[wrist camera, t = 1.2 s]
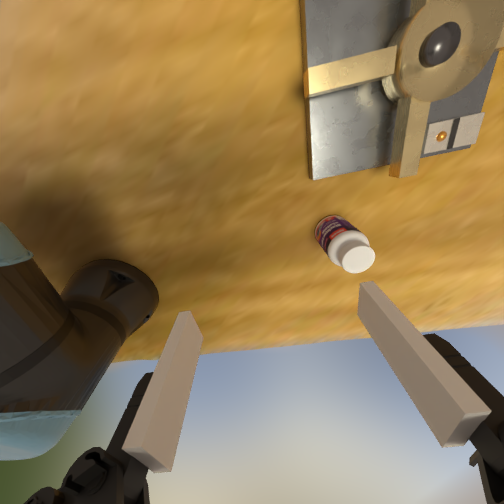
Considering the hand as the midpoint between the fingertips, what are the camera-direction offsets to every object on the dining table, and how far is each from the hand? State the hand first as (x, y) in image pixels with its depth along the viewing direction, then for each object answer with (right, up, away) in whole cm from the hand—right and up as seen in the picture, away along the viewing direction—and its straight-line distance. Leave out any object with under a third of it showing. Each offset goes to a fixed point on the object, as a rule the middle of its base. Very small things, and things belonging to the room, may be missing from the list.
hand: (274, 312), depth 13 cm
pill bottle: (+12, +8, +20) cm, 24 cm away
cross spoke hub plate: (+15, +25, +10) cm, 31 cm away
